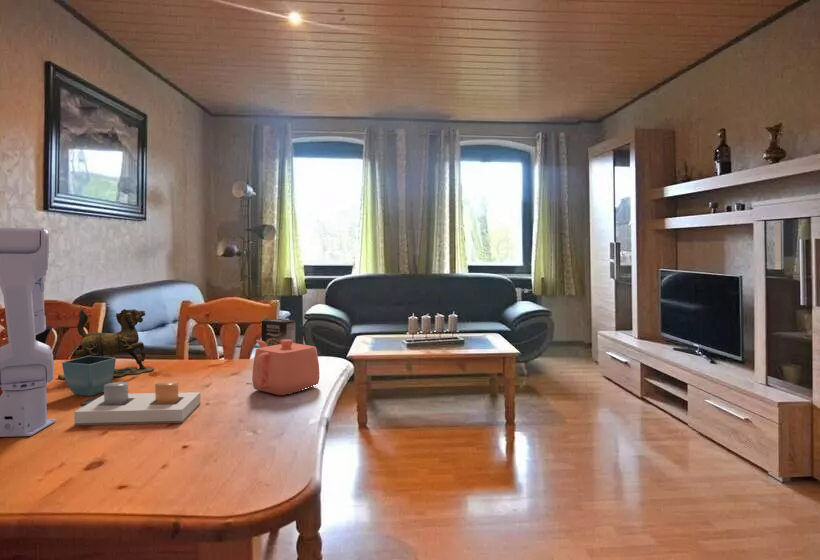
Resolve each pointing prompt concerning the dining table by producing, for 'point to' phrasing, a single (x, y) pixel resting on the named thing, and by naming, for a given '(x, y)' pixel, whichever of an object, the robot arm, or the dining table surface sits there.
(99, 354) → the figurine
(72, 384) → the flower pot
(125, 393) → the grey button
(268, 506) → the dining table surface
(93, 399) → the mat
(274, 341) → the coffee box
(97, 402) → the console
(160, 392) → the tan button
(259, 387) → the teapot
